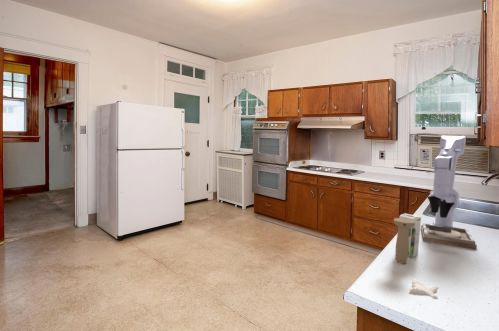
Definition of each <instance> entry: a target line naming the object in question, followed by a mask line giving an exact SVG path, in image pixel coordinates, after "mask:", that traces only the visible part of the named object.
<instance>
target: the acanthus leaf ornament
mask: <svg viewBox="0 0 499 331" xmlns="http://www.w3.org/2000/svg"><path fill="white" fill-rule="evenodd" d="M411 283H412V287H411V288H410V289H409V294H418V295H427V296H430V297H431V298H433V299H436V300H438V299H439V297H438V295H436V294H435V293H437V291H438V289H439V287H438V286H435V285H431V286H428V284H426V283H425V282H421V281H420V280H418V279H415V278H413V279H412V282H411Z"/></svg>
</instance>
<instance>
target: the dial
mask: <svg viewBox="0 0 499 331" xmlns="http://www.w3.org/2000/svg"><path fill="white" fill-rule="evenodd" d="M428 224H429V230H433V233H434V234H436V235H439V236H446V237H448V236H450V237H453V238H460V237H461V233H459V232H457V231H455V230H451V227H447V226H438V225H434V223H428Z"/></svg>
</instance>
